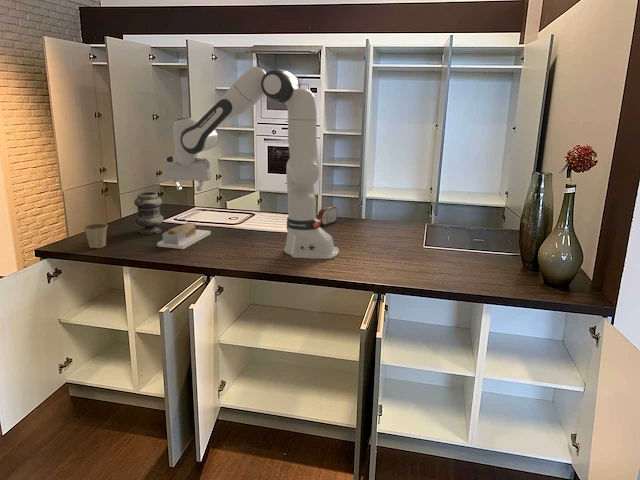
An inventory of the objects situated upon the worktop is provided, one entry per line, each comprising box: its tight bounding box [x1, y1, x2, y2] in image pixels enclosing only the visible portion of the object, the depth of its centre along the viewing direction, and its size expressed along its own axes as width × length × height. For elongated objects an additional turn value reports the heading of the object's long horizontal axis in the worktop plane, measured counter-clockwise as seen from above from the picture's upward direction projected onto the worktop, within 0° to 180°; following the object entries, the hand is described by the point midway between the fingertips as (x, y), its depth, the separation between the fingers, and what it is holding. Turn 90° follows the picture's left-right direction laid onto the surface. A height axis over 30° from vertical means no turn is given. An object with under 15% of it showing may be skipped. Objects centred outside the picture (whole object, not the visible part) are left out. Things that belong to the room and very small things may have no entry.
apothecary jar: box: [134, 191, 164, 235], centre depth 221 cm, size 12×12×18 cm
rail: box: [167, 222, 197, 238], centre depth 209 cm, size 4×14×5 cm, turn 159°
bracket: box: [156, 229, 212, 250], centre depth 211 cm, size 12×24×6 cm, turn 165°
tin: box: [316, 205, 339, 226], centre depth 243 cm, size 15×3×8 cm, turn 144°
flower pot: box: [82, 223, 109, 249], centre depth 199 cm, size 9×9×9 cm
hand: (189, 190), depth 205 cm, fingers open, 8 cm apart
